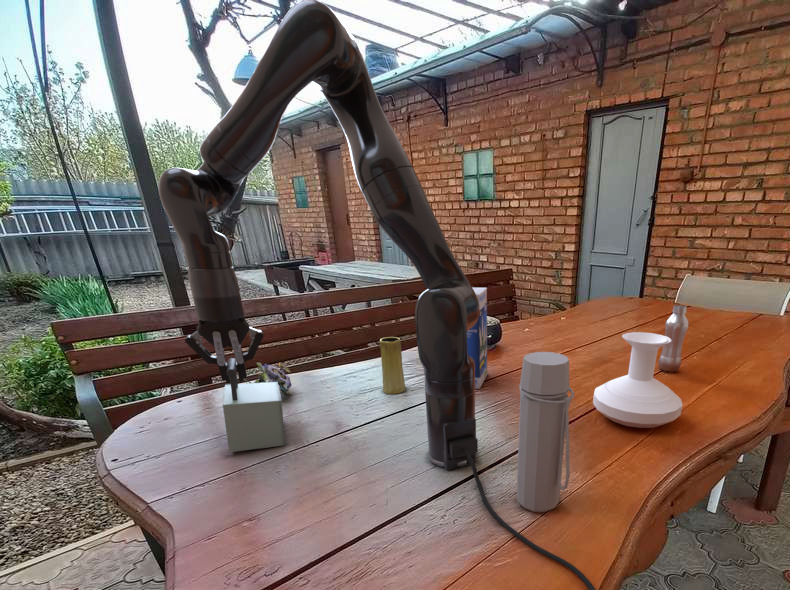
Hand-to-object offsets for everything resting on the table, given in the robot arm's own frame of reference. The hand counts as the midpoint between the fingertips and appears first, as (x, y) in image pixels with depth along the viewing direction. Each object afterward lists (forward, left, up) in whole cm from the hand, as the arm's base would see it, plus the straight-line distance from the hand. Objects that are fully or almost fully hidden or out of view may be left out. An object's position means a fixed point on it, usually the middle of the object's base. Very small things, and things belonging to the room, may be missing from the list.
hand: (235, 381), depth 85 cm
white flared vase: (-29, -81, -14) cm, 88 cm away
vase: (+14, -35, -14) cm, 40 cm away
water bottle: (-47, -42, -14) cm, 65 cm away
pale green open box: (0, -7, -5) cm, 9 cm away
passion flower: (+24, -5, -14) cm, 28 cm away
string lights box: (+11, -57, -14) cm, 60 cm away
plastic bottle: (-9, -116, -14) cm, 118 cm away
